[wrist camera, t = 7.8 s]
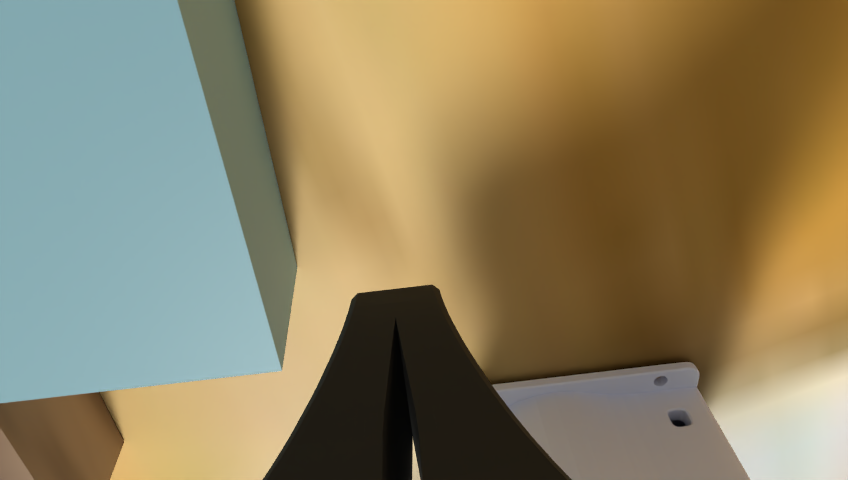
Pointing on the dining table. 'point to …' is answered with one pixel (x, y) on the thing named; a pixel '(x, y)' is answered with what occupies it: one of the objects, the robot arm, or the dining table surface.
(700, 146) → the dining table surface
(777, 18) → the dining table surface
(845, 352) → the dining table surface
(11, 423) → the board
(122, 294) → the block
